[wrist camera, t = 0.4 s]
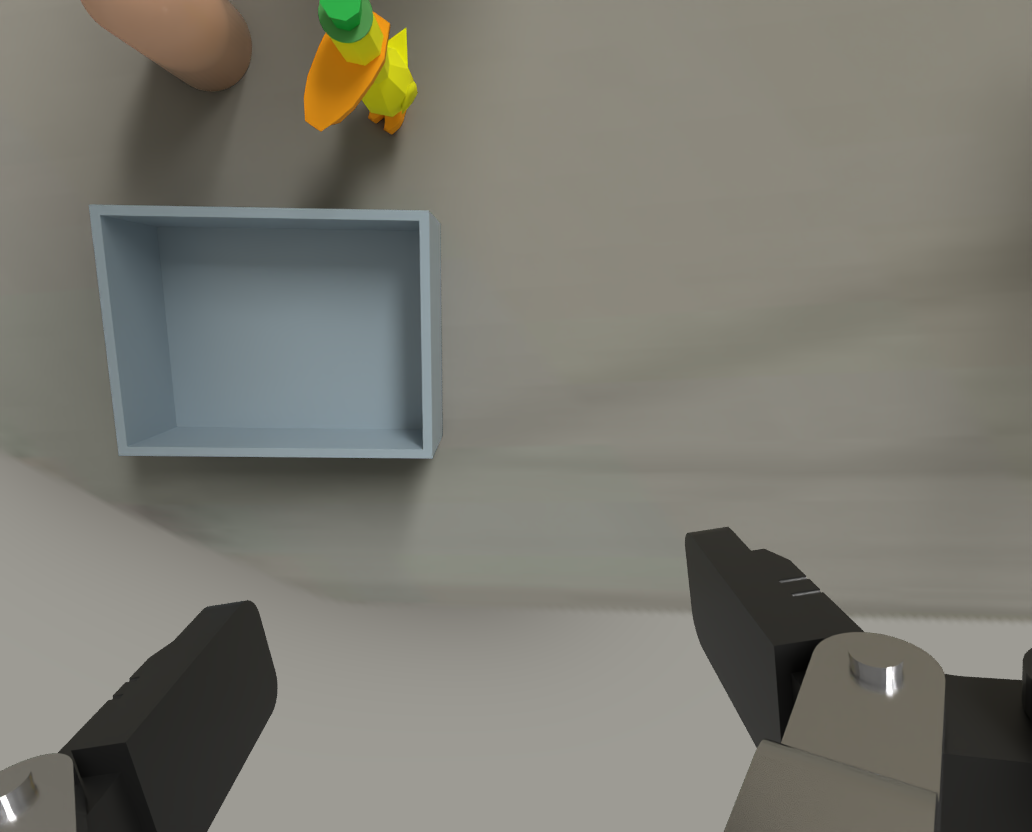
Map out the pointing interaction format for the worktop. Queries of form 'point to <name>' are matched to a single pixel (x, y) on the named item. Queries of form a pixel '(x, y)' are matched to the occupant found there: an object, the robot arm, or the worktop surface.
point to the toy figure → (358, 68)
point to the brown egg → (182, 37)
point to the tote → (271, 330)
